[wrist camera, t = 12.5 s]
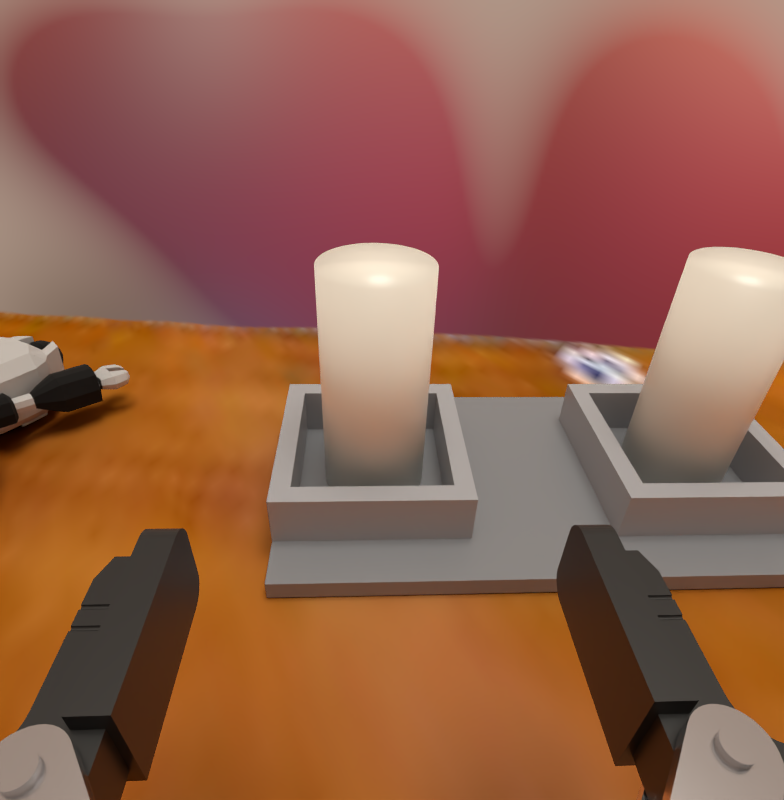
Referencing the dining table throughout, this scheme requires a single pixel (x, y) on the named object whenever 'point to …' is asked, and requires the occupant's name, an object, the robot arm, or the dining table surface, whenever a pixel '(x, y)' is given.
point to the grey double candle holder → (565, 467)
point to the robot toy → (46, 382)
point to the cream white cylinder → (375, 361)
